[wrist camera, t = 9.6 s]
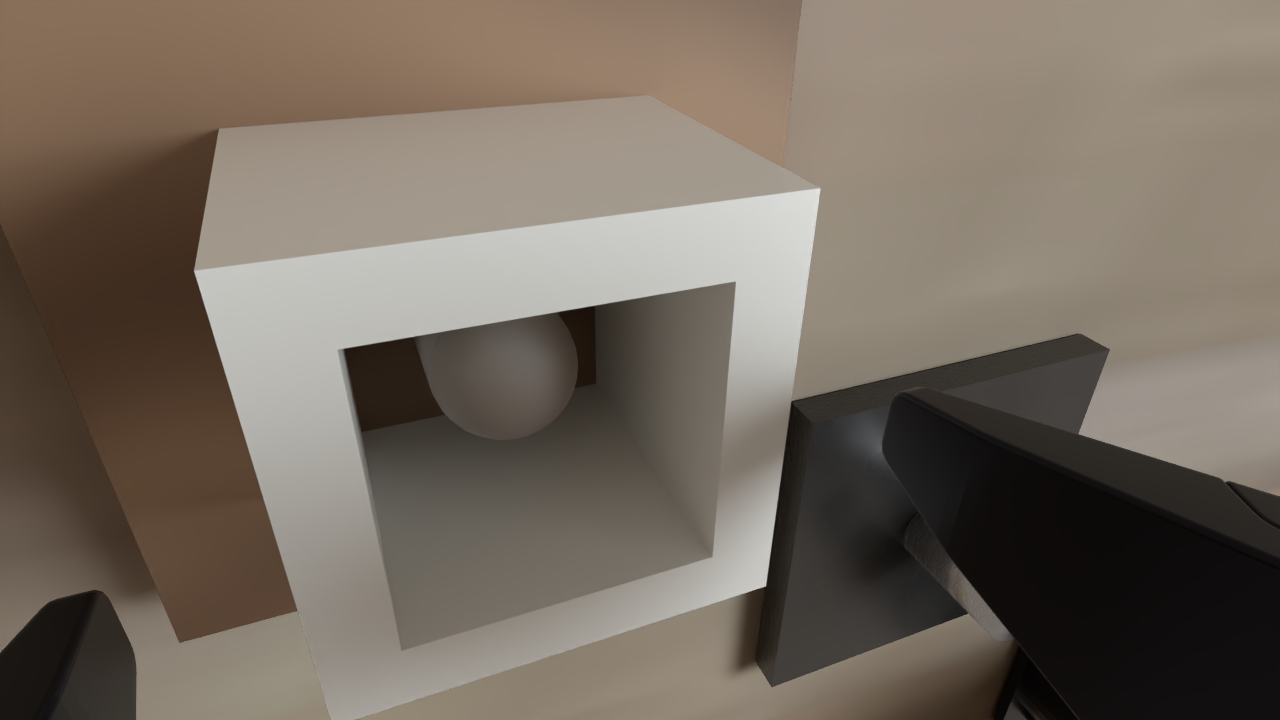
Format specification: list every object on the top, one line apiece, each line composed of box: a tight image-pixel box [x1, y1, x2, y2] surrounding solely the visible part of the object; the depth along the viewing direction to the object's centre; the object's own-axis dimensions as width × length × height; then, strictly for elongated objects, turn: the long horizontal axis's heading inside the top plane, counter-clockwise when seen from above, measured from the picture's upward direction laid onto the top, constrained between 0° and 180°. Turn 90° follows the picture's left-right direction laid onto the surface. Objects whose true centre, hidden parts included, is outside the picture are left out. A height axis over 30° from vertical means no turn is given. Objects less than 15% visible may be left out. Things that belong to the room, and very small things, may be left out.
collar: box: [194, 95, 820, 720], centre depth 11 cm, size 6×6×5 cm
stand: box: [756, 334, 1109, 687], centre depth 22 cm, size 10×10×4 cm
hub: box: [0, 0, 802, 643], centre depth 13 cm, size 12×12×5 cm
